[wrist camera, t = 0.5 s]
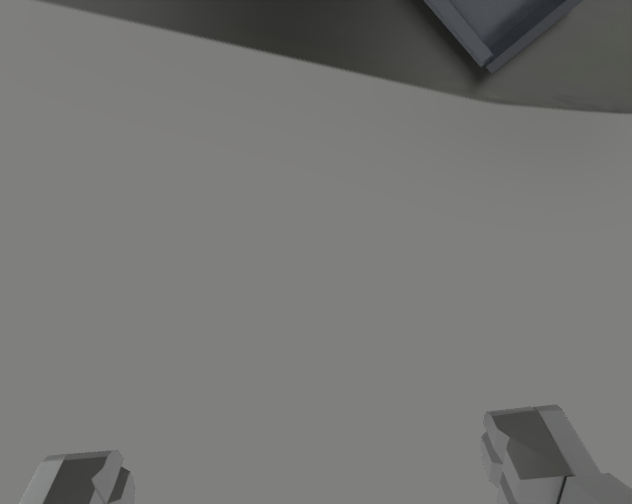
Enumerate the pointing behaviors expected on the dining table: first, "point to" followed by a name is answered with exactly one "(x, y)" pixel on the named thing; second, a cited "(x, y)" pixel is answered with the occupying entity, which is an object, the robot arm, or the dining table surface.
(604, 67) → the dining table surface
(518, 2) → the tray
